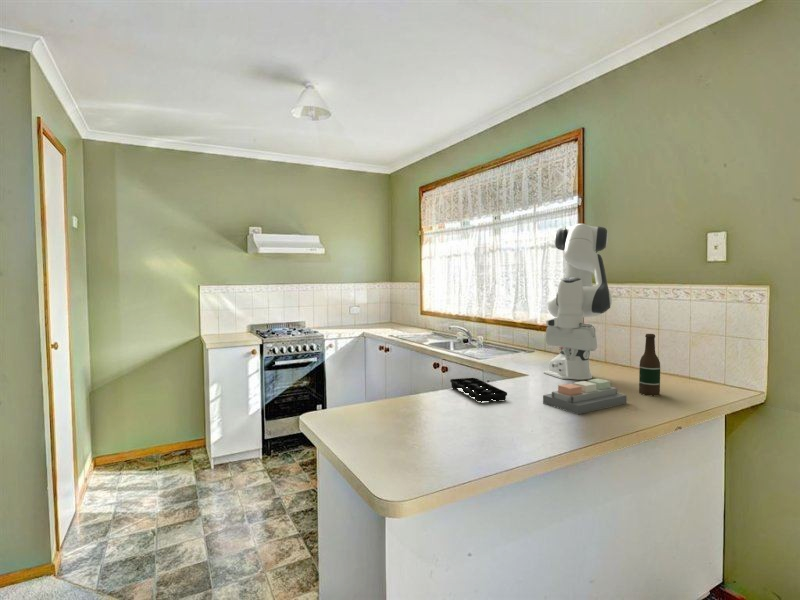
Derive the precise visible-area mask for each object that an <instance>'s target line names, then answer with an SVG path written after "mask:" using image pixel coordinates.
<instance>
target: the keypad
mask: <svg viewBox="0 0 800 600" xmlns="http://www.w3.org/2000/svg"><path fill="white" fill-rule="evenodd" d="M627 397H628V396H627V394H623V393H619V392H618V388H616V387H613V386H610V388H609V389H604V390H598V389H596V391H594V392H589V393H584V392H581V394H578V395H573V396H569V395H565V394H562V393H558V390H553V391H551V393H548V394H543V395H542V403H543V404H544V403H546V404H545V405H548V404H549V405H548V406H551V405H552V407H554V406H555V407H554V408H557V407H558V409H560V408H561V409H560V410H563V409H564V411H566V410H567V412H570V413H573V414H577V415H581V414H586V413H591V412H593V411H599V410H603V409H608V408H612V407H611V406H613V407H616V406H615V405H617V406H621V405H625V404H624V403H626V404H627V403H628V401H627V400H628V399H627ZM620 404H621V405H620ZM607 407H608V408H607Z"/></svg>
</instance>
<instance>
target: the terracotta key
mask: <svg viewBox="0 0 800 600" xmlns="http://www.w3.org/2000/svg"><path fill="white" fill-rule="evenodd" d="M557 389H558V390H557V391H558V393H562V394H565V395H569V396H573V395H578V394H581V386H577V385H573V384H572V383H566V384H565V383H564V384H560V385H559V384H558V387H557Z"/></svg>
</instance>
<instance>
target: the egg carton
mask: <svg viewBox="0 0 800 600" xmlns="http://www.w3.org/2000/svg"><path fill="white" fill-rule="evenodd" d="M449 383H451V388H452V389H454V390H457V389H456V388H462V389H463V391H464V392H465V393H469V395H470V396H471V397H475V399H476V400H477V401H481V402H482V401H490V400H491V399H493V400H496V401H499V400H505V399H506V398H507V396H508V392H507V391H505V390H503V389H500V388H498V387H497V386H494V385H492V384H490V383H487V382H485V381H483V380H481V379H479V378H478V377H477V378H476V377H464V378H463V377H461V378H450V381H449ZM480 386H482V387H480ZM466 387H468V388H466ZM486 389H488V390H486ZM472 390H474V392H473V391H472ZM494 393H495V394H494ZM479 394H481V395H479ZM505 401H506V400H505Z"/></svg>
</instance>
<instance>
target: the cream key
mask: <svg viewBox="0 0 800 600" xmlns="http://www.w3.org/2000/svg"><path fill="white" fill-rule="evenodd" d="M573 385H577V386H581V392H584V393H589V392H594V391H596V384H595V383H590V382H588V381H585V380H580V381H576V382H573Z"/></svg>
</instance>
